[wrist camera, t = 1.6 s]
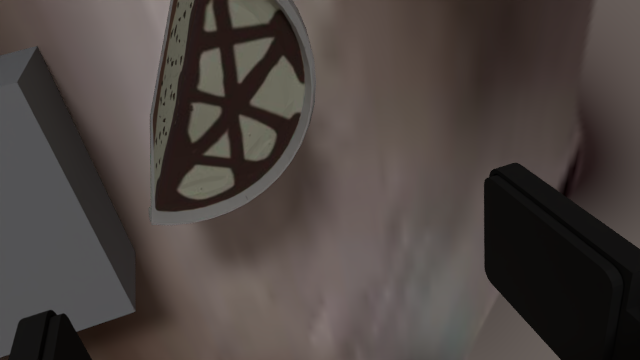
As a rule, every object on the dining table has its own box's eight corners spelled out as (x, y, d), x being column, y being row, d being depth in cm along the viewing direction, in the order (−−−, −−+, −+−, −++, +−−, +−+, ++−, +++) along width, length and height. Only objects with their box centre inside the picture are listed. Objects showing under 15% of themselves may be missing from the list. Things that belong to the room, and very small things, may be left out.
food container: (247, 155, 34) (283, 246, 26) (145, 139, 32) (149, 235, 23) (300, -48, 29) (366, -17, 21) (185, -84, 27) (208, -65, 18)
